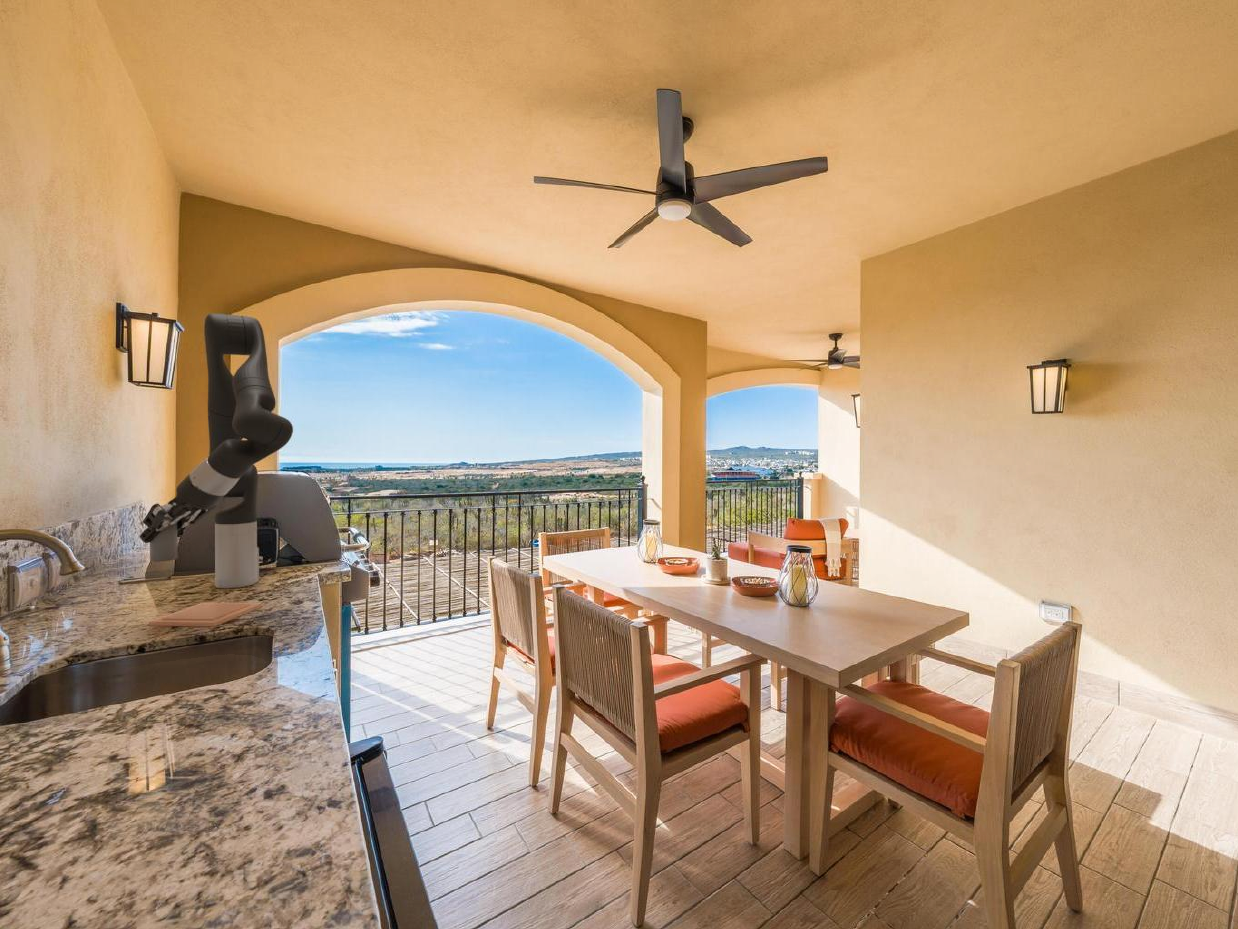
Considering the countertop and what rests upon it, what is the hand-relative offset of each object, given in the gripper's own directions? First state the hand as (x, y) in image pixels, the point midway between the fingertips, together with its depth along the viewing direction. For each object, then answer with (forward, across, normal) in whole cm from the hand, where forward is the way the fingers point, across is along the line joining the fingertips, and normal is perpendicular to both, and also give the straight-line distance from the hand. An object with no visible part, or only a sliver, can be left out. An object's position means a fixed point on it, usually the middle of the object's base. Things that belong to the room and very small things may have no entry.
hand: (155, 537), depth 110 cm
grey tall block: (+2, 0, +5) cm, 5 cm away
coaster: (+7, -5, +18) cm, 20 cm away
